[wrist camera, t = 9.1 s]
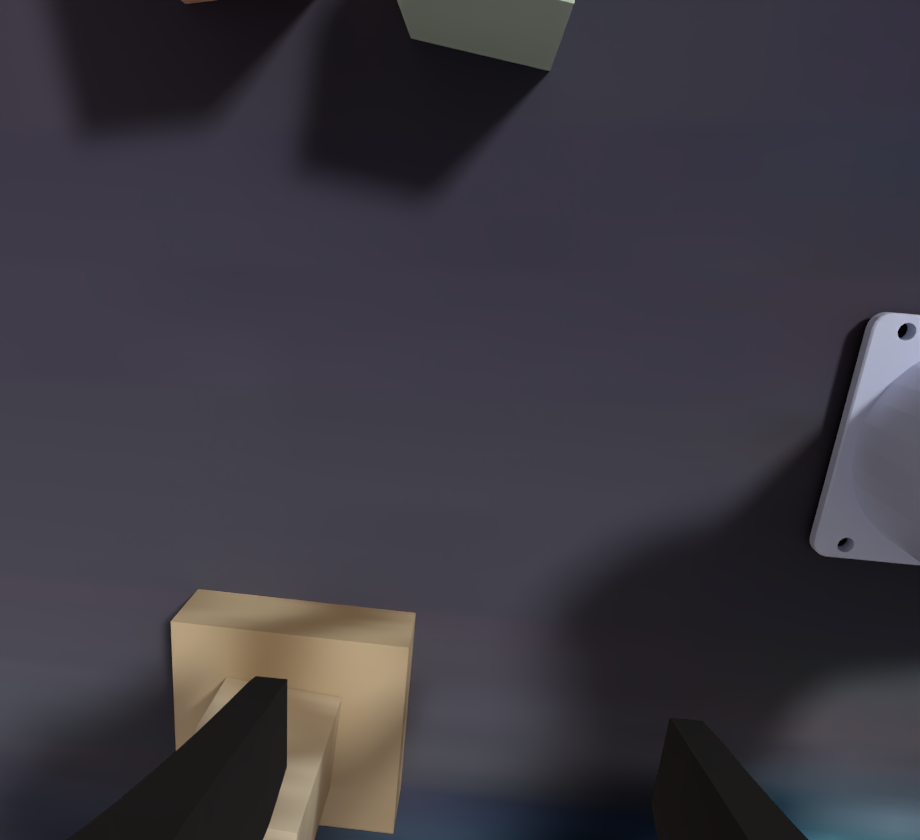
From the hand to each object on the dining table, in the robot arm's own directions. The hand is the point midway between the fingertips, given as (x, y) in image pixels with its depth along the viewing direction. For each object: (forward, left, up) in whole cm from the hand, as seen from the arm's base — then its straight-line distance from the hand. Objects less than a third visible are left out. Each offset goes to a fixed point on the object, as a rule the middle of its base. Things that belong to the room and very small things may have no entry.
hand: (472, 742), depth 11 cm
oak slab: (+6, +8, -10) cm, 14 cm away
